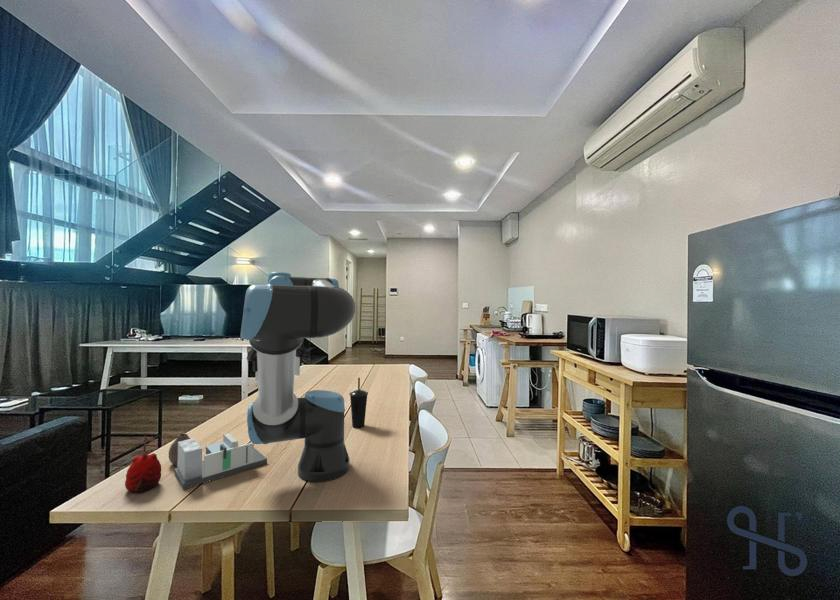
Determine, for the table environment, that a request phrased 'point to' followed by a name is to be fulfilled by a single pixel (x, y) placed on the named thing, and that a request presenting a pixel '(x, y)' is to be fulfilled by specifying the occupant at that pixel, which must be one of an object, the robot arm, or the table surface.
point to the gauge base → (225, 464)
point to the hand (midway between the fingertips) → (278, 378)
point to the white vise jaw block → (189, 459)
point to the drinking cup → (358, 406)
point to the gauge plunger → (222, 445)
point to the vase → (176, 448)
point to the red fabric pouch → (143, 472)
